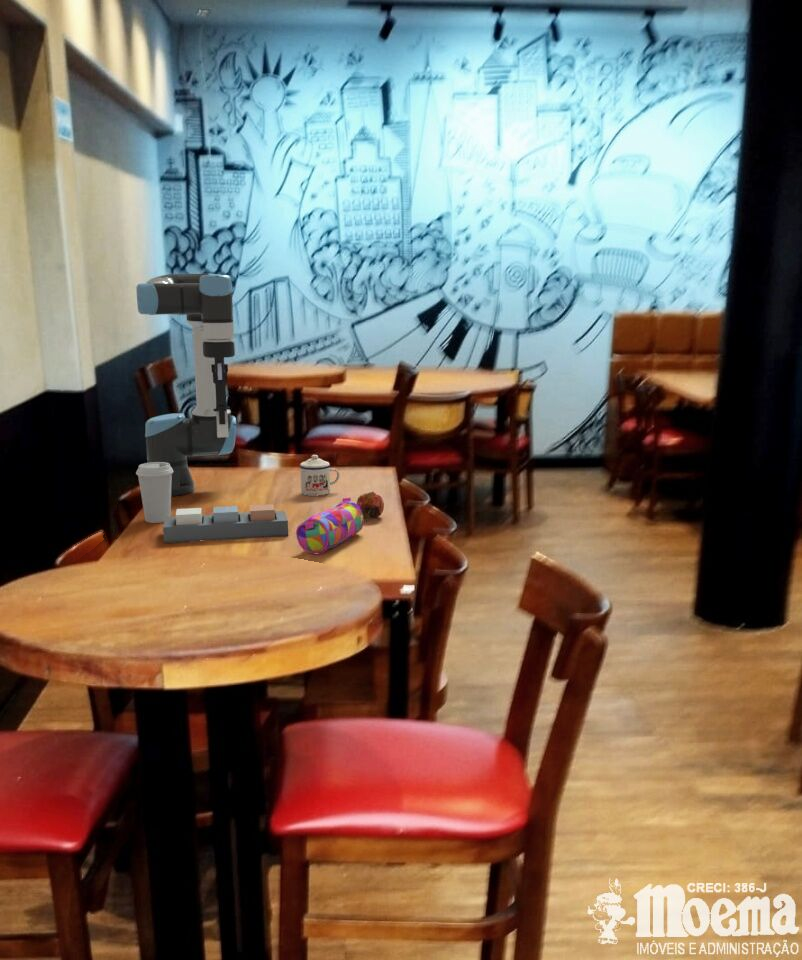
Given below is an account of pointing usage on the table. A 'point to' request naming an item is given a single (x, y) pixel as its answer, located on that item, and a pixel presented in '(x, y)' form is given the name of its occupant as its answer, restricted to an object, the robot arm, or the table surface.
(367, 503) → the pomegranate
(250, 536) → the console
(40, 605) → the table surface
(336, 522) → the pencil case
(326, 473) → the teacup with lid
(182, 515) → the ivory key
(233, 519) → the slate key
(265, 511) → the terracotta key
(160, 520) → the coffee cup
